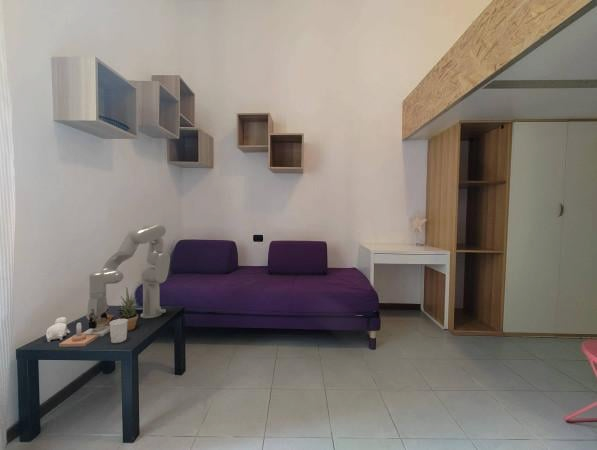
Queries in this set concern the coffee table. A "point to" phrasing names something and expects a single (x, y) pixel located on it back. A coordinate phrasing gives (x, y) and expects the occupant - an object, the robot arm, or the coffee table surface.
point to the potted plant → (129, 311)
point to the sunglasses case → (108, 318)
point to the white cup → (118, 330)
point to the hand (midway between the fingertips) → (98, 324)
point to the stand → (98, 330)
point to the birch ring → (101, 322)
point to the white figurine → (57, 329)
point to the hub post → (78, 338)
